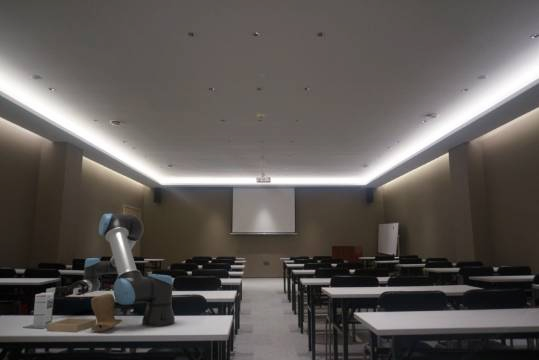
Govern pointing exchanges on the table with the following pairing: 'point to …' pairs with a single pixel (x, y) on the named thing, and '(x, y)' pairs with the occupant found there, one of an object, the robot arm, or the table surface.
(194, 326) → the table surface
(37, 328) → the slate pad
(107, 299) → the stone cup
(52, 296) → the syrup box
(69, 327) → the mailer box
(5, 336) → the table surface
